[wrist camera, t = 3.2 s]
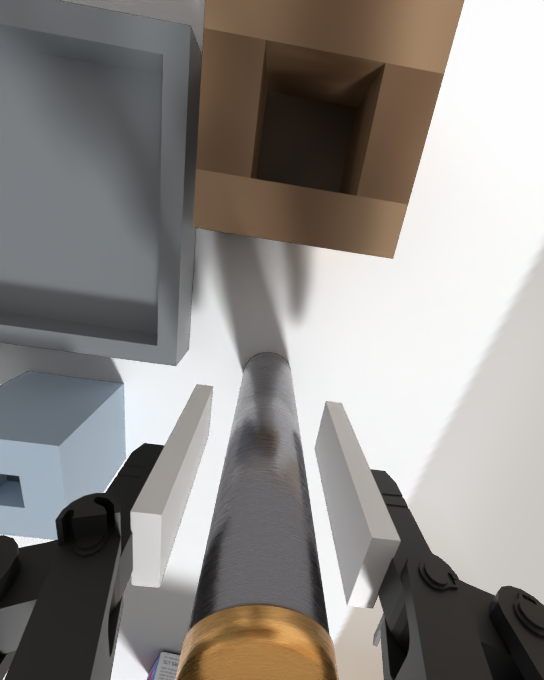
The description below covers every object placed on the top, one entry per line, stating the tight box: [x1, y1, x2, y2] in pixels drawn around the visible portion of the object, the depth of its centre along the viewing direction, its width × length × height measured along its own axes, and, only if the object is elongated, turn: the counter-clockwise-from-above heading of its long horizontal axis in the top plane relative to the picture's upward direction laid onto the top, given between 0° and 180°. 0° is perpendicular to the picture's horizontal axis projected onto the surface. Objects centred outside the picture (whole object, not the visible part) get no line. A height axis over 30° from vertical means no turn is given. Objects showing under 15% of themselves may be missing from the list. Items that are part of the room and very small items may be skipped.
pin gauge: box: [175, 353, 339, 680], centre depth 12 cm, size 3×3×14 cm
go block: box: [193, 0, 464, 259], centre depth 12 cm, size 8×8×4 cm
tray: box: [0, 0, 202, 366], centre depth 14 cm, size 14×14×2 cm
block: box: [0, 371, 126, 540], centre depth 16 cm, size 6×6×6 cm
